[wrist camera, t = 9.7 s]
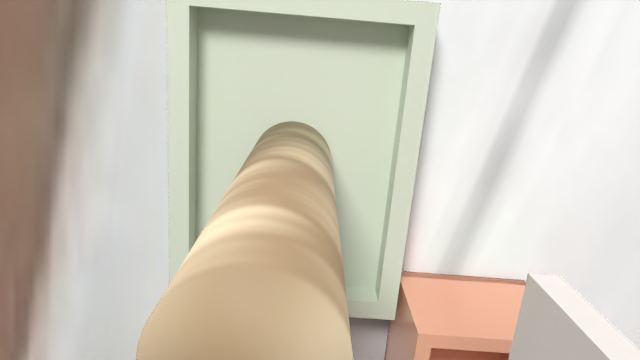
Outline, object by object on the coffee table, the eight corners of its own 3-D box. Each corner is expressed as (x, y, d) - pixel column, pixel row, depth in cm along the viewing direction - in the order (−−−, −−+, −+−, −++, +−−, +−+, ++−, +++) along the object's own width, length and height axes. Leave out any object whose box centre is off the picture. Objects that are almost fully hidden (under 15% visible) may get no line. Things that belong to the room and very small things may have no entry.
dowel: (251, 194, 24) (138, 450, 9) (254, 118, 23) (132, 264, 8) (327, 199, 25) (342, 462, 9) (334, 124, 23) (365, 281, 8)
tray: (182, 281, 27) (169, 304, 25) (181, -15, 22) (166, -22, 20) (388, 296, 27) (394, 320, 25) (428, 6, 23) (440, 3, 20)
